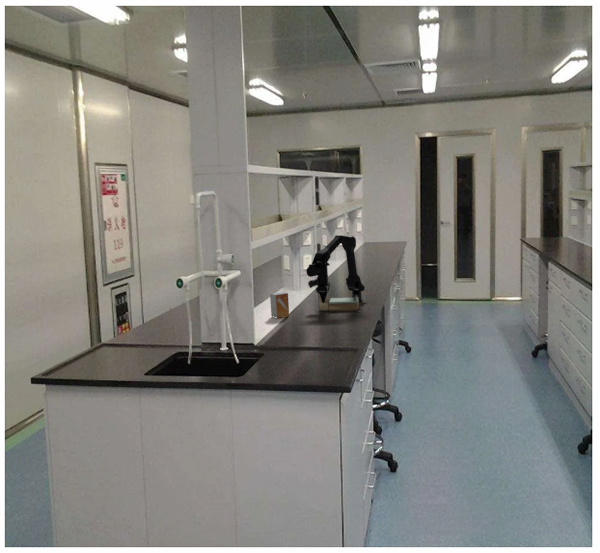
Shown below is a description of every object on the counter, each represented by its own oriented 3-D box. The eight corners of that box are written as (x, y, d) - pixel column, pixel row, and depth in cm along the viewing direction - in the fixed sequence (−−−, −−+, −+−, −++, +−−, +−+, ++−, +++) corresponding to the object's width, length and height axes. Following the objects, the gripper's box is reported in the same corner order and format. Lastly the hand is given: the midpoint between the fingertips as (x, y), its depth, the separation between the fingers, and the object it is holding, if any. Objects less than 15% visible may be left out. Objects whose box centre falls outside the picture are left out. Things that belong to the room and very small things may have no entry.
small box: (277, 318, 321) (275, 294, 319) (271, 317, 326) (269, 293, 324) (289, 316, 325) (288, 292, 323) (283, 314, 330) (282, 291, 329)
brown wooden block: (320, 308, 340) (319, 293, 339) (329, 308, 340) (328, 293, 338) (319, 310, 336) (318, 294, 335) (328, 310, 335) (327, 294, 334)
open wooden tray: (331, 307, 343) (330, 300, 343) (358, 306, 341) (358, 299, 340) (329, 311, 331) (328, 304, 331) (357, 310, 329) (357, 303, 328)
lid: (330, 299, 342) (330, 294, 342) (358, 299, 340) (358, 293, 340) (328, 303, 331) (328, 298, 331) (357, 302, 329) (357, 297, 328)
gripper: (310, 272, 345) (312, 298, 348) (306, 277, 327) (308, 305, 329) (329, 271, 344) (331, 298, 346) (326, 276, 325) (327, 304, 328)
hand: (324, 301), depth 337 cm, fingers open, 9 cm apart
